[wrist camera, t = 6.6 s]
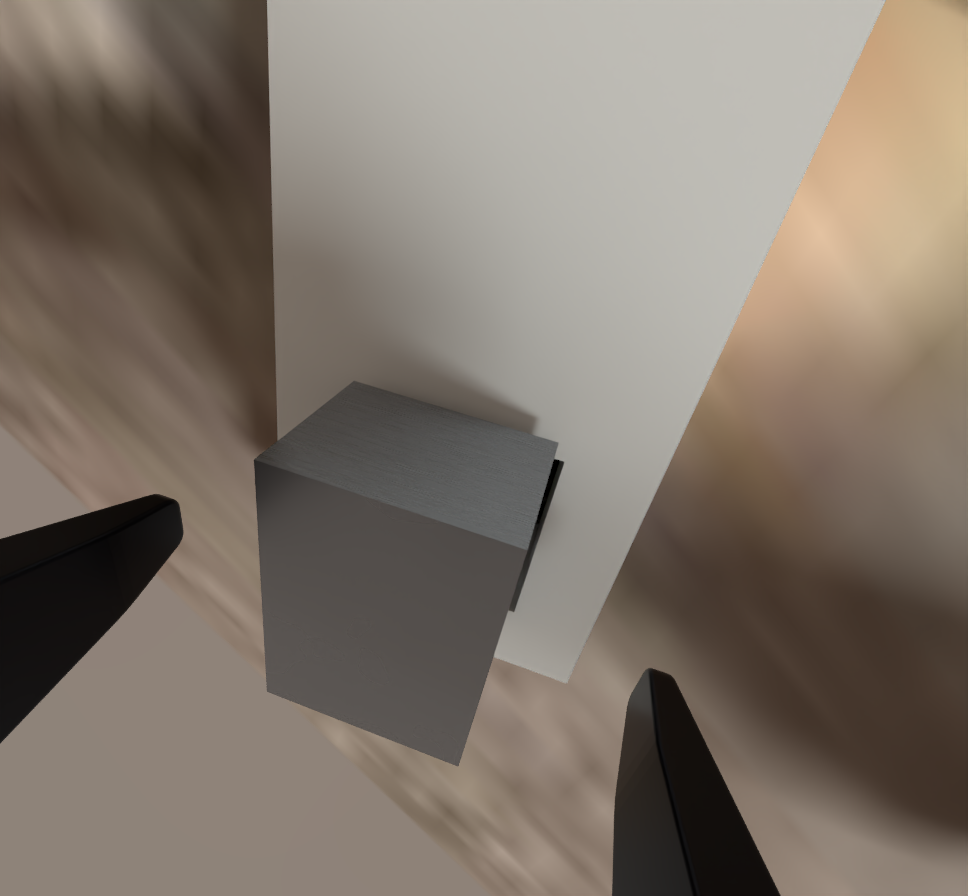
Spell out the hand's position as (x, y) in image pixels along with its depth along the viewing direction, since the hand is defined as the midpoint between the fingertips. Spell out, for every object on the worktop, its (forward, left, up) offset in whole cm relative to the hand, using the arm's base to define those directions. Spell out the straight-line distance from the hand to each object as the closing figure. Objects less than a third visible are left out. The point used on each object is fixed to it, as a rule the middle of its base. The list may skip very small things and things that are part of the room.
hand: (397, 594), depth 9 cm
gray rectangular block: (0, 0, -6) cm, 6 cm away
